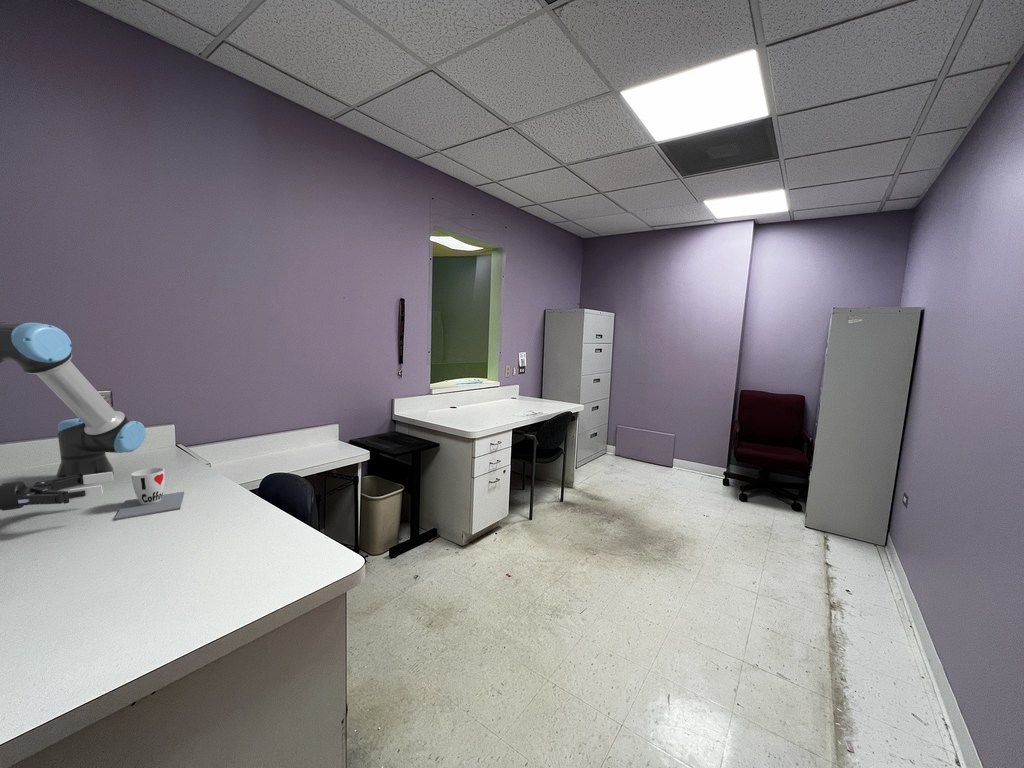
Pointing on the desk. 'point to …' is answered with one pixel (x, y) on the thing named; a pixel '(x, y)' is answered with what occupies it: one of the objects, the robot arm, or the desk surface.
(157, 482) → the cup
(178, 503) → the mat
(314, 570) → the desk surface
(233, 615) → the desk surface
